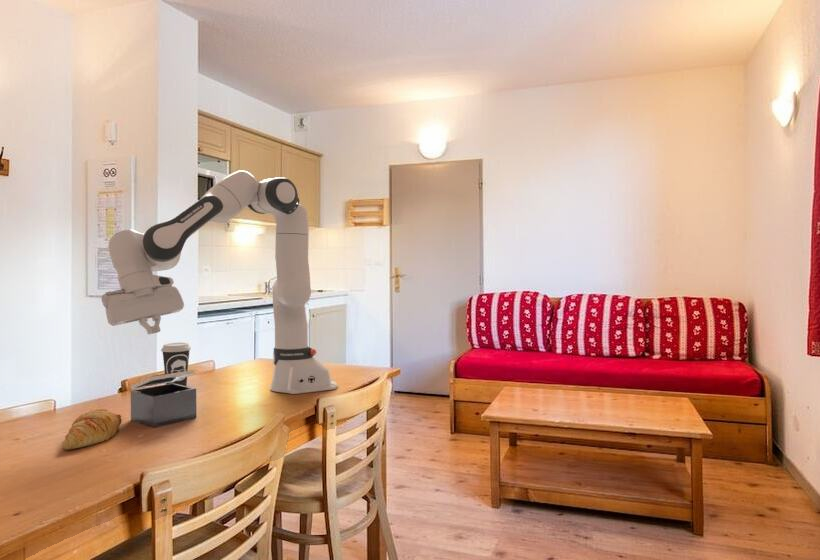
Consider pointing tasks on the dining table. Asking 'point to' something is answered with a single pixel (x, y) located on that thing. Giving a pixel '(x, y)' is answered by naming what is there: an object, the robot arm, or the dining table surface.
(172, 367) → the coffee cup
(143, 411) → the grey box
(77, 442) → the croissant
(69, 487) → the dining table surface
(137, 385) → the lid
